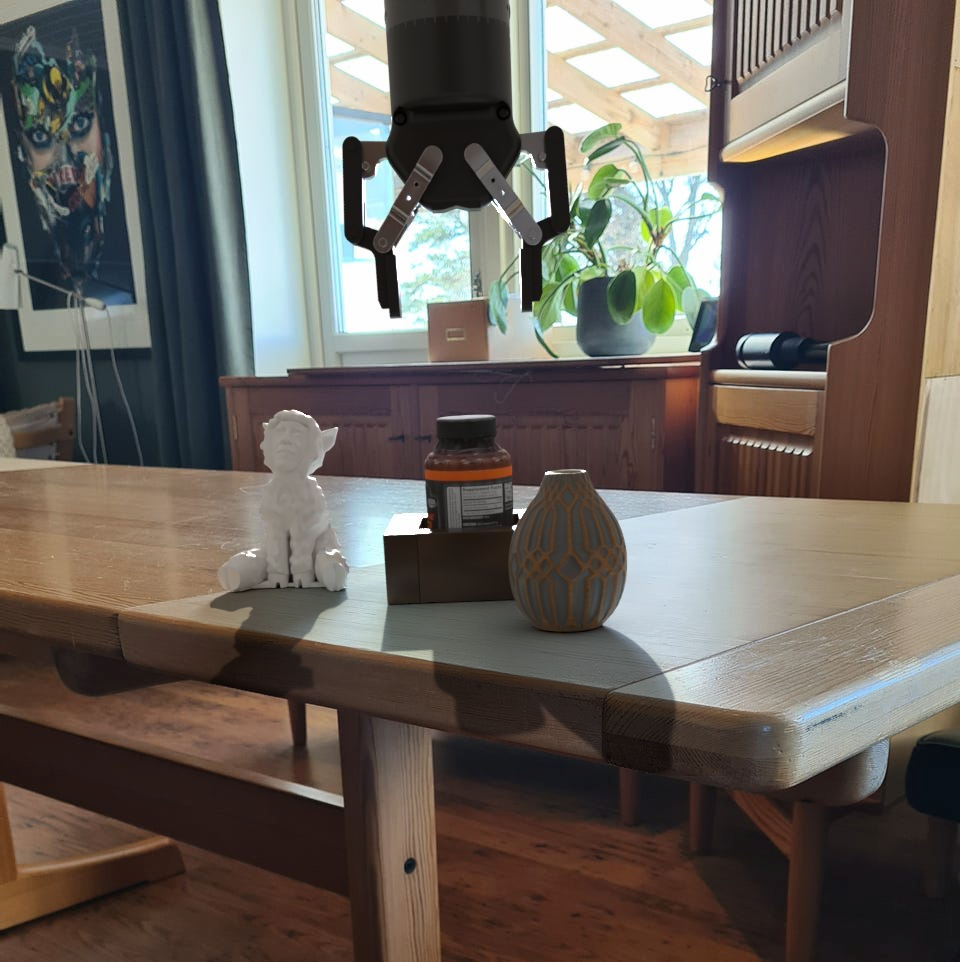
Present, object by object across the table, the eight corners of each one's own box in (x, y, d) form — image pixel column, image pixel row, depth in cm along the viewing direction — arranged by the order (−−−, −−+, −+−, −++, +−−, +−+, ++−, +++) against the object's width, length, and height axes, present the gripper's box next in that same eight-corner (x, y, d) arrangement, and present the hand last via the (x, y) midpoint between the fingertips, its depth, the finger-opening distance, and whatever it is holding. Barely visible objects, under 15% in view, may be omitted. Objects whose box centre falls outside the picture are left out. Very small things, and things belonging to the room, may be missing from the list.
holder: (548, 570, 95) (547, 508, 93) (556, 597, 84) (555, 528, 83) (397, 576, 95) (393, 514, 93) (387, 604, 85) (382, 535, 83)
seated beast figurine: (215, 593, 91) (195, 415, 87) (254, 573, 99) (237, 409, 95) (344, 591, 90) (330, 411, 85) (373, 571, 98) (361, 405, 93)
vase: (550, 610, 80) (547, 465, 77) (648, 619, 77) (649, 466, 73) (487, 631, 75) (481, 476, 72) (588, 641, 71) (586, 478, 68)
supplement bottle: (428, 582, 92) (418, 416, 88) (510, 577, 93) (504, 412, 88) (434, 596, 87) (424, 420, 82) (521, 591, 87) (516, 416, 83)
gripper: (323, 16, 74) (347, 319, 80) (569, 2, 74) (574, 308, 80) (337, 45, 81) (358, 322, 87) (561, 32, 81) (567, 311, 87)
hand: (461, 315), depth 83 cm, fingers open, 8 cm apart
